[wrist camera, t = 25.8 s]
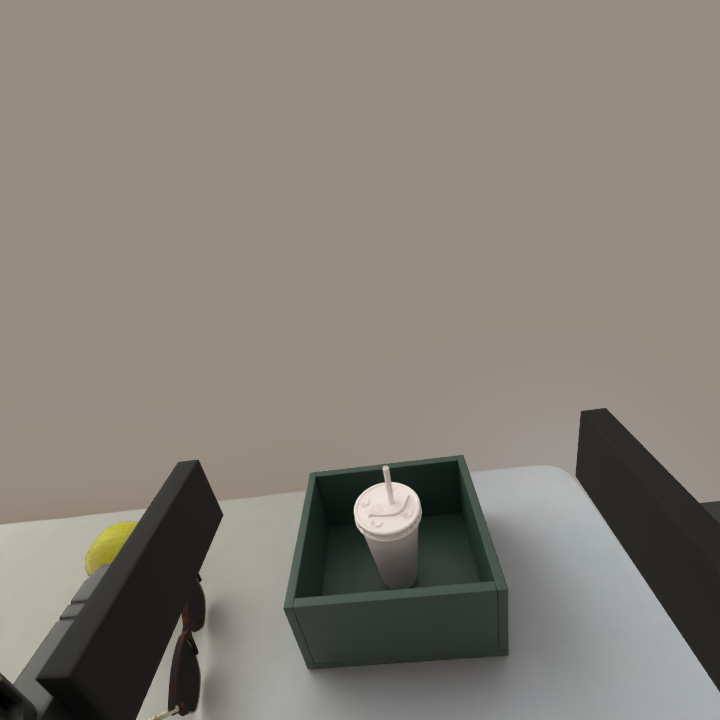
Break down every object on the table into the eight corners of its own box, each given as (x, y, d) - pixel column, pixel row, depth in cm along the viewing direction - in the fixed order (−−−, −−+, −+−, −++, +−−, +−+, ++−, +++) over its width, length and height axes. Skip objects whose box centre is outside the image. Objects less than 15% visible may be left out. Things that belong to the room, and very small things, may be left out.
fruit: (79, 526, 43) (196, 508, 47) (99, 529, 49) (201, 512, 53) (72, 597, 41) (197, 572, 44) (94, 591, 46) (202, 569, 50)
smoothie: (442, 585, 39) (429, 478, 33) (384, 615, 37) (360, 508, 31) (411, 537, 44) (395, 438, 38) (359, 562, 43) (335, 462, 37)
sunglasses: (200, 736, 32) (173, 706, 29) (-16, 838, 29) (-63, 814, 27) (210, 585, 44) (191, 556, 42) (59, 648, 41) (31, 621, 39)
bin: (467, 511, 47) (463, 454, 44) (508, 655, 33) (508, 589, 29) (325, 526, 49) (309, 472, 45) (307, 669, 35) (282, 608, 31)
